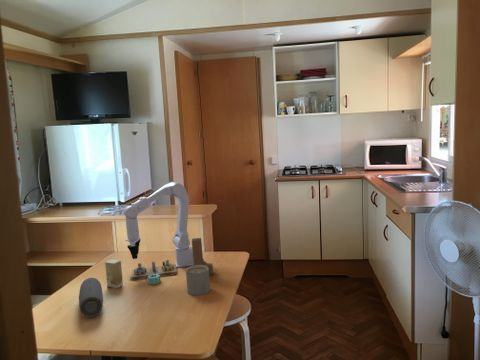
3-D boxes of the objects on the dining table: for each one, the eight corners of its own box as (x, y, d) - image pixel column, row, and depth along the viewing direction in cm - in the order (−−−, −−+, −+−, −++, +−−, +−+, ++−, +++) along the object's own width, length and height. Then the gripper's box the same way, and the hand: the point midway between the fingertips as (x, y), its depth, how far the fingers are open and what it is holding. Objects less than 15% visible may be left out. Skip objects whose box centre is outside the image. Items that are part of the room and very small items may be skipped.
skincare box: (107, 286, 189) (104, 261, 187) (113, 283, 193) (111, 258, 191) (117, 288, 186) (114, 263, 184) (123, 285, 190) (121, 260, 188)
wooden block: (213, 272, 199) (210, 236, 196) (213, 275, 194) (210, 239, 192) (195, 273, 198) (191, 238, 196) (194, 277, 194) (191, 241, 191)
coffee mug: (209, 294, 172) (207, 272, 171) (186, 296, 172) (184, 273, 171) (211, 282, 186) (209, 261, 184) (189, 284, 185) (187, 263, 184)
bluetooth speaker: (80, 300, 176) (78, 278, 174) (103, 295, 179) (100, 274, 178) (79, 322, 155) (76, 298, 153) (105, 317, 158) (102, 293, 156)
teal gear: (160, 279, 194) (159, 273, 194) (160, 283, 189) (159, 277, 188) (148, 280, 193) (147, 274, 193) (147, 285, 187) (147, 279, 187)
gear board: (176, 266, 210) (175, 255, 209) (176, 274, 199) (175, 262, 198) (132, 272, 206) (131, 261, 205) (131, 280, 195) (130, 268, 194)
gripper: (125, 227, 205) (128, 252, 207) (122, 234, 191) (126, 261, 193) (139, 225, 206) (142, 251, 208) (138, 232, 192) (141, 260, 194)
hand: (135, 256), depth 201 cm, fingers open, 7 cm apart
